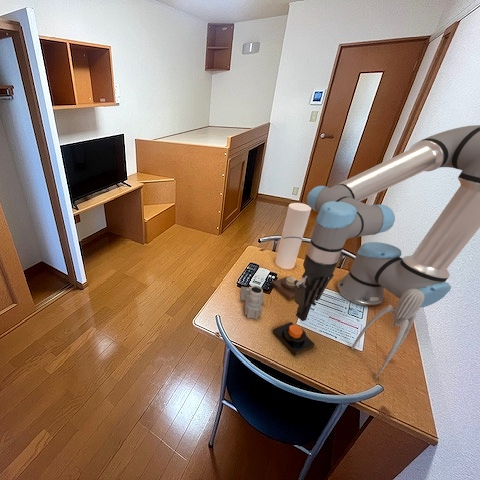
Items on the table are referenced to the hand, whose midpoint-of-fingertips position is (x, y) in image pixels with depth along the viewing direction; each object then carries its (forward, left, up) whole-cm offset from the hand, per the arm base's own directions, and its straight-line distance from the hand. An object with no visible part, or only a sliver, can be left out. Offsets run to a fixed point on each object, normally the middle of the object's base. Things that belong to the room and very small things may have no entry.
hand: (300, 317), depth 83 cm
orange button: (0, 0, -8) cm, 8 cm away
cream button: (-18, -20, -8) cm, 28 cm away
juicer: (-18, +16, -11) cm, 26 cm away
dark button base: (0, 0, -11) cm, 11 cm away
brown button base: (-18, -20, -11) cm, 29 cm away
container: (-30, -35, -11) cm, 47 cm away
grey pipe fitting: (+2, -19, -11) cm, 22 cm away
